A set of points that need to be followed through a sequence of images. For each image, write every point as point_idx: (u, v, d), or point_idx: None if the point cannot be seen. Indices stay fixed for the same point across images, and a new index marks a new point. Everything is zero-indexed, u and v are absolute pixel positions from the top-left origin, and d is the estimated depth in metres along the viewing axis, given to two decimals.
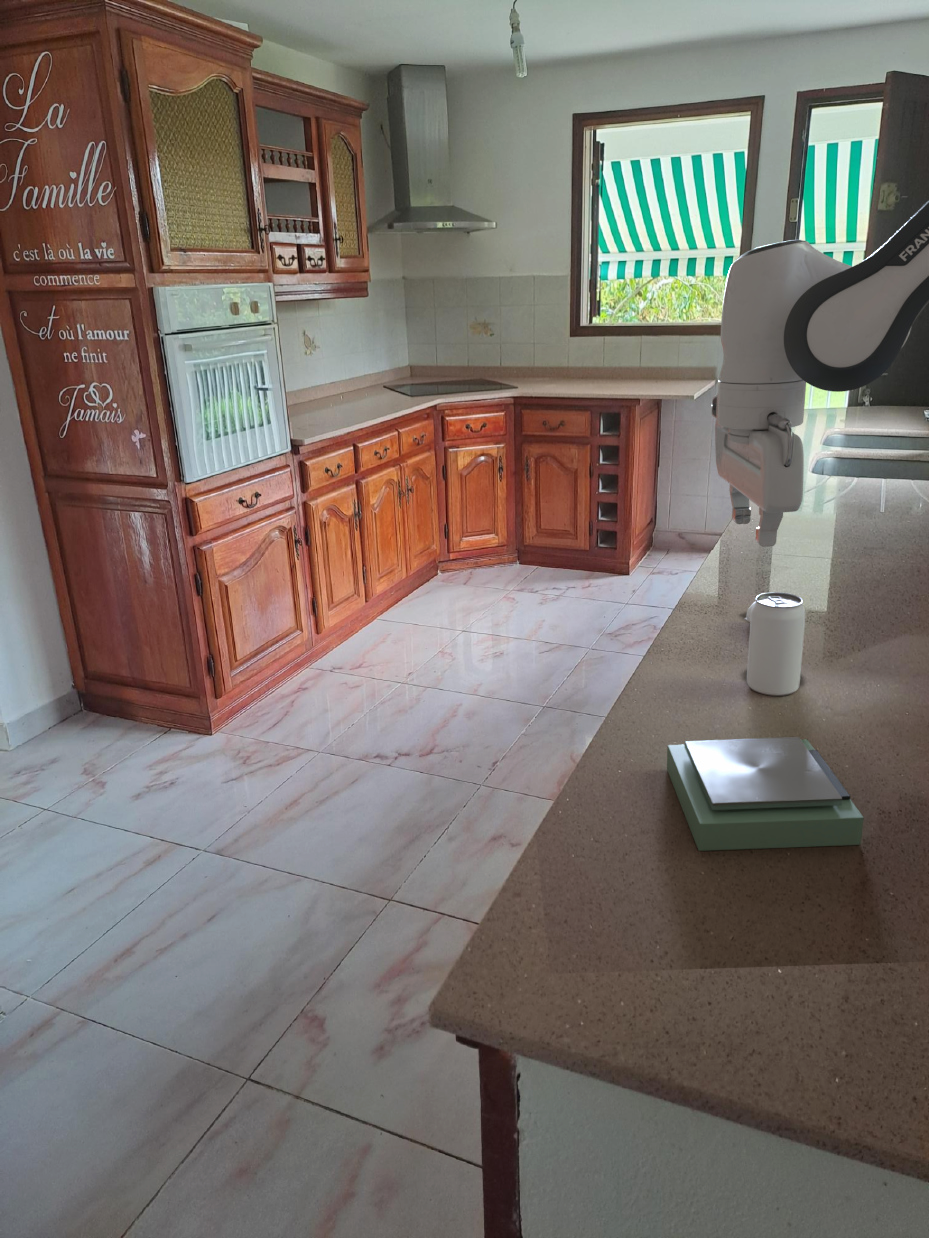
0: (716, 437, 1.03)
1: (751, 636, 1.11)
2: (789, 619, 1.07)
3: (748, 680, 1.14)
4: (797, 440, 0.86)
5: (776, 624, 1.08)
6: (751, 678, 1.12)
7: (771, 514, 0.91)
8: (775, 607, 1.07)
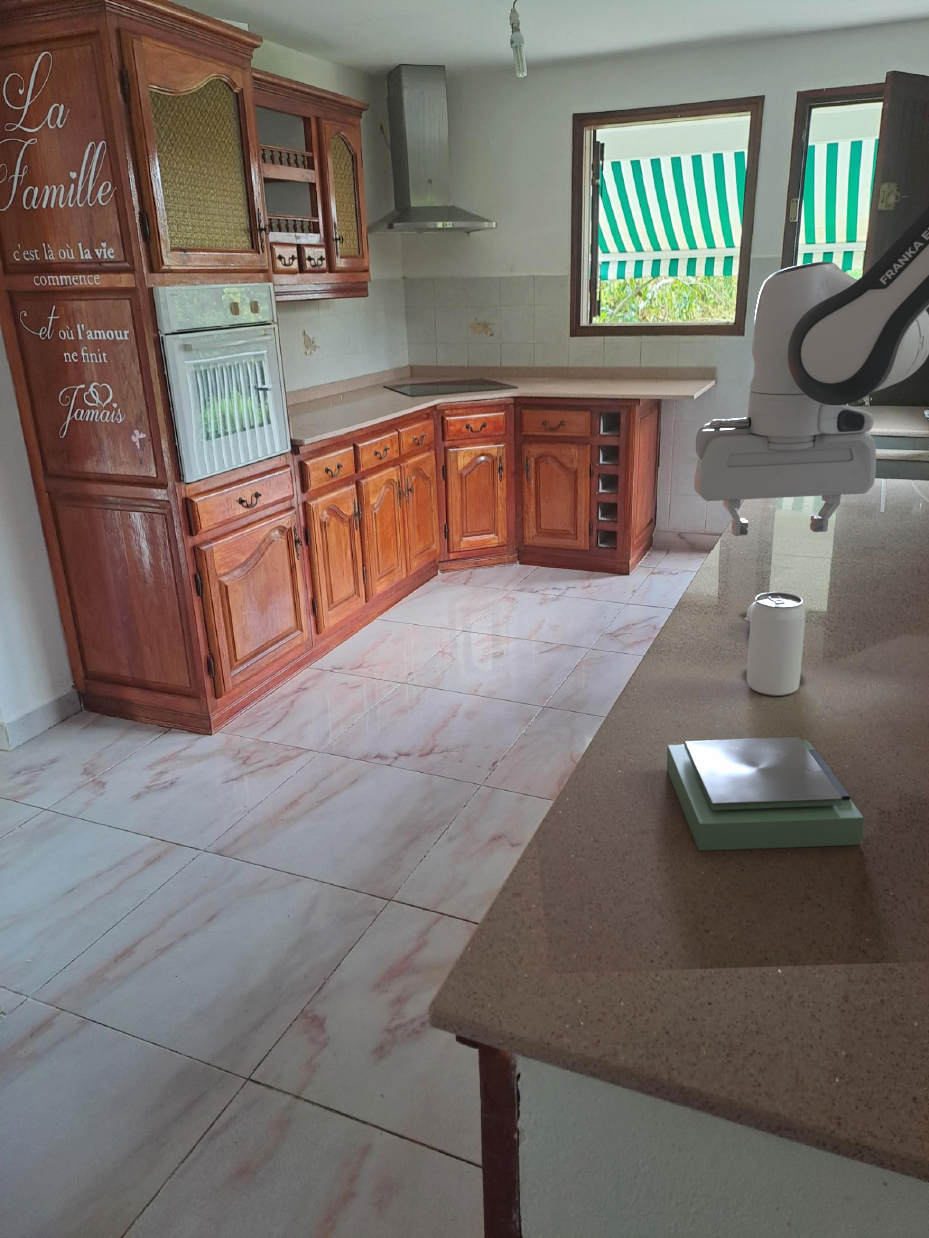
0: None
1: (751, 636, 1.11)
2: (789, 619, 1.07)
3: (748, 680, 1.14)
4: (713, 440, 1.01)
5: (776, 624, 1.08)
6: (751, 678, 1.12)
7: (725, 504, 1.05)
8: (775, 607, 1.07)
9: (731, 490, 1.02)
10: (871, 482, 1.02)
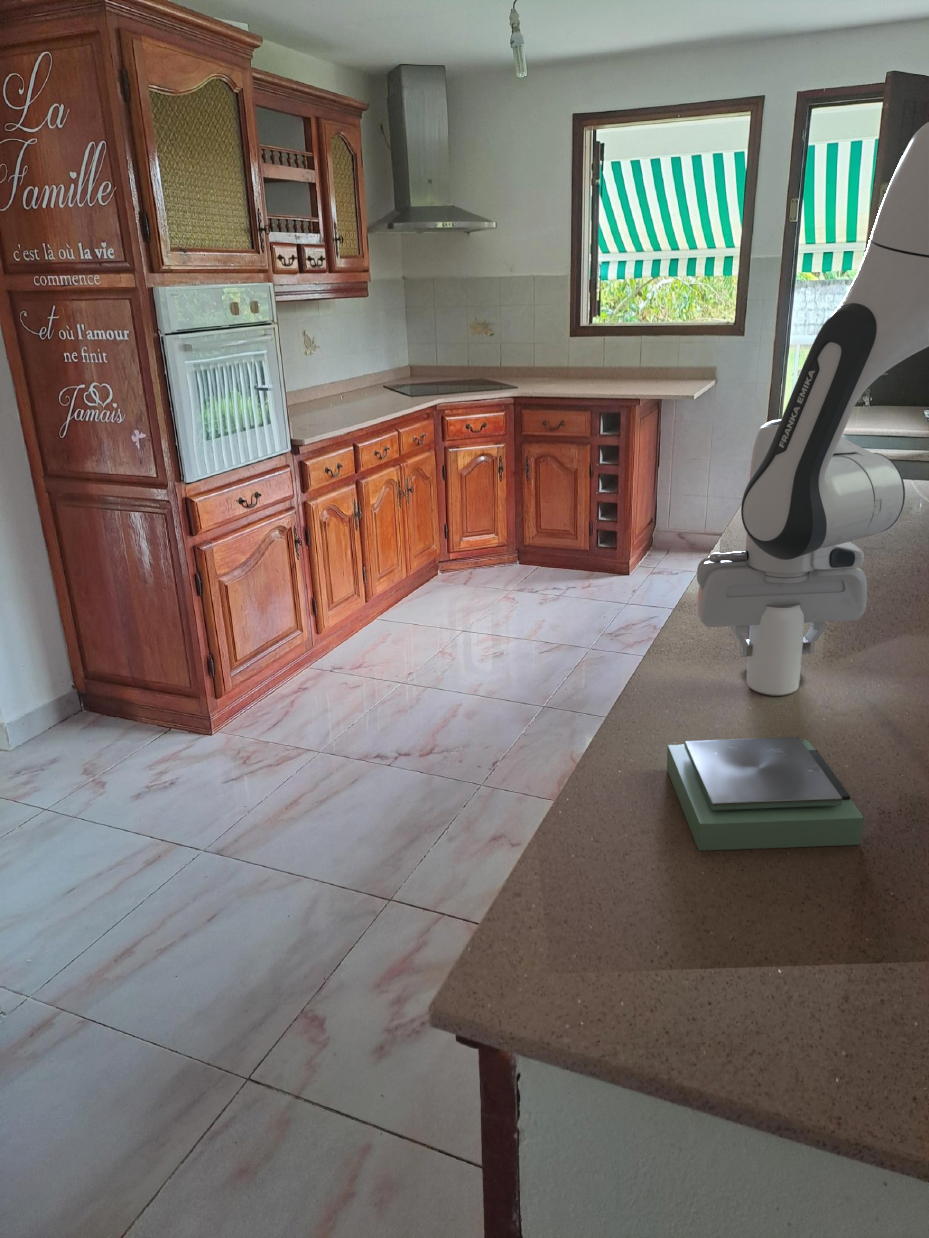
0: None
1: (751, 636, 1.11)
2: (788, 619, 1.07)
3: (748, 680, 1.14)
4: (713, 572, 1.07)
5: (775, 624, 1.08)
6: (751, 678, 1.12)
7: (733, 627, 1.11)
8: (774, 607, 1.08)
9: (731, 617, 1.09)
10: (862, 610, 1.08)
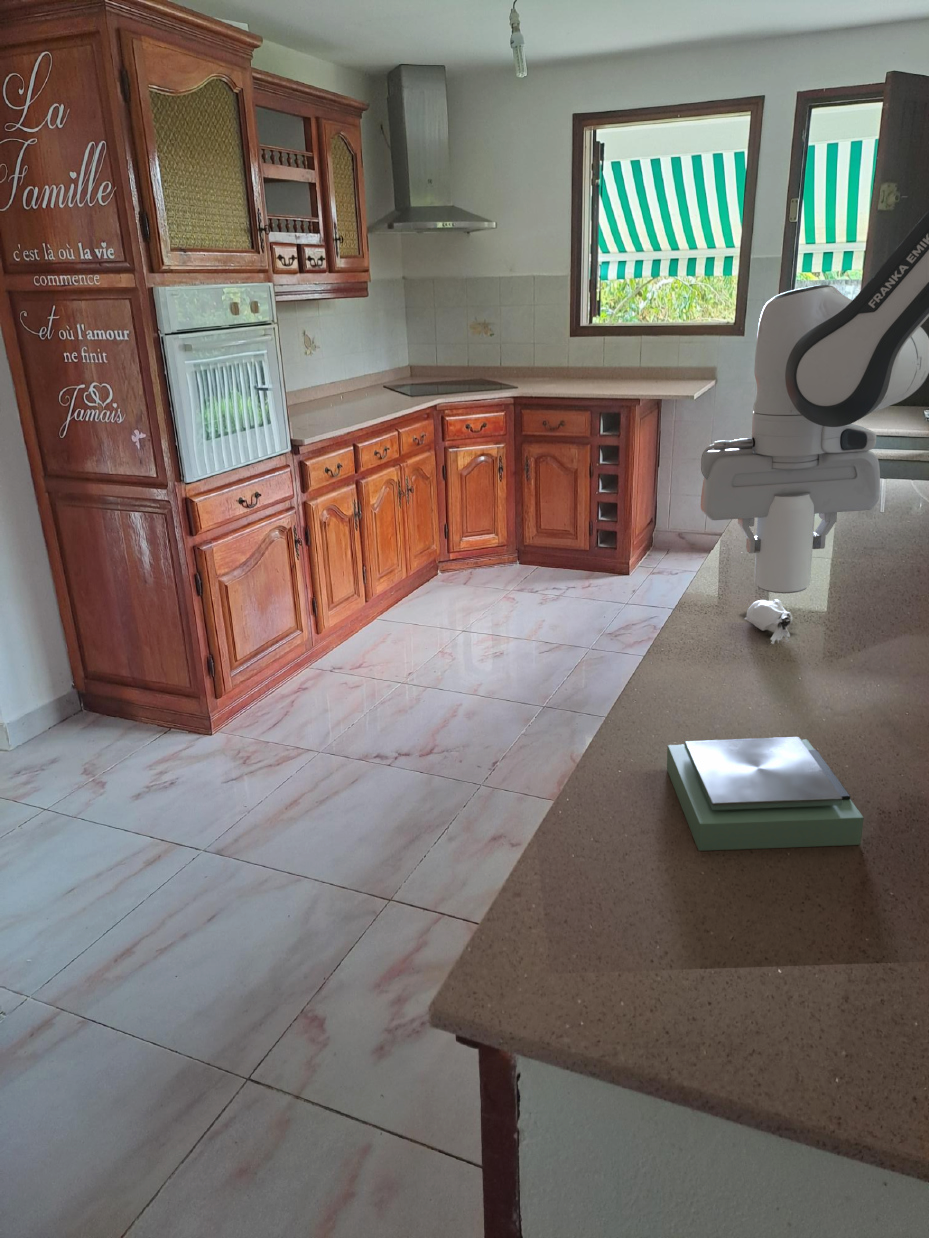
0: None
1: (758, 531, 1.06)
2: (798, 508, 1.02)
3: (756, 579, 1.08)
4: (718, 461, 1.02)
5: (784, 514, 1.03)
6: (759, 576, 1.07)
7: (739, 522, 1.06)
8: (783, 496, 1.02)
9: (737, 509, 1.04)
10: (876, 499, 1.03)
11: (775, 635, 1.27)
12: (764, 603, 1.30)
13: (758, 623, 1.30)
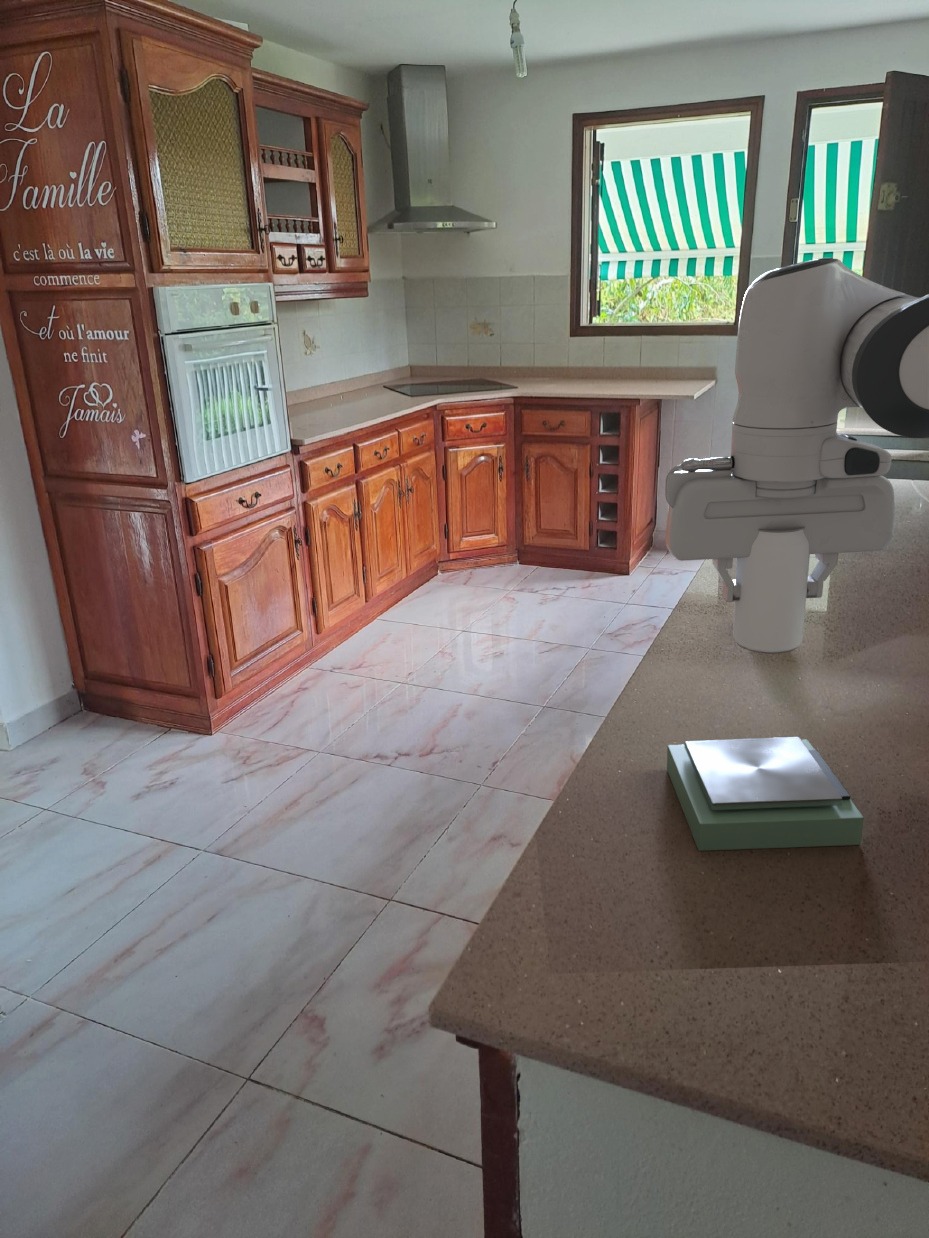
0: None
1: (738, 574, 0.83)
2: (788, 547, 0.79)
3: (734, 634, 0.86)
4: (687, 485, 0.79)
5: (771, 555, 0.80)
6: (739, 631, 0.84)
7: (714, 562, 0.83)
8: (769, 531, 0.80)
9: (710, 547, 0.81)
10: (888, 537, 0.80)
11: None
12: None
13: None
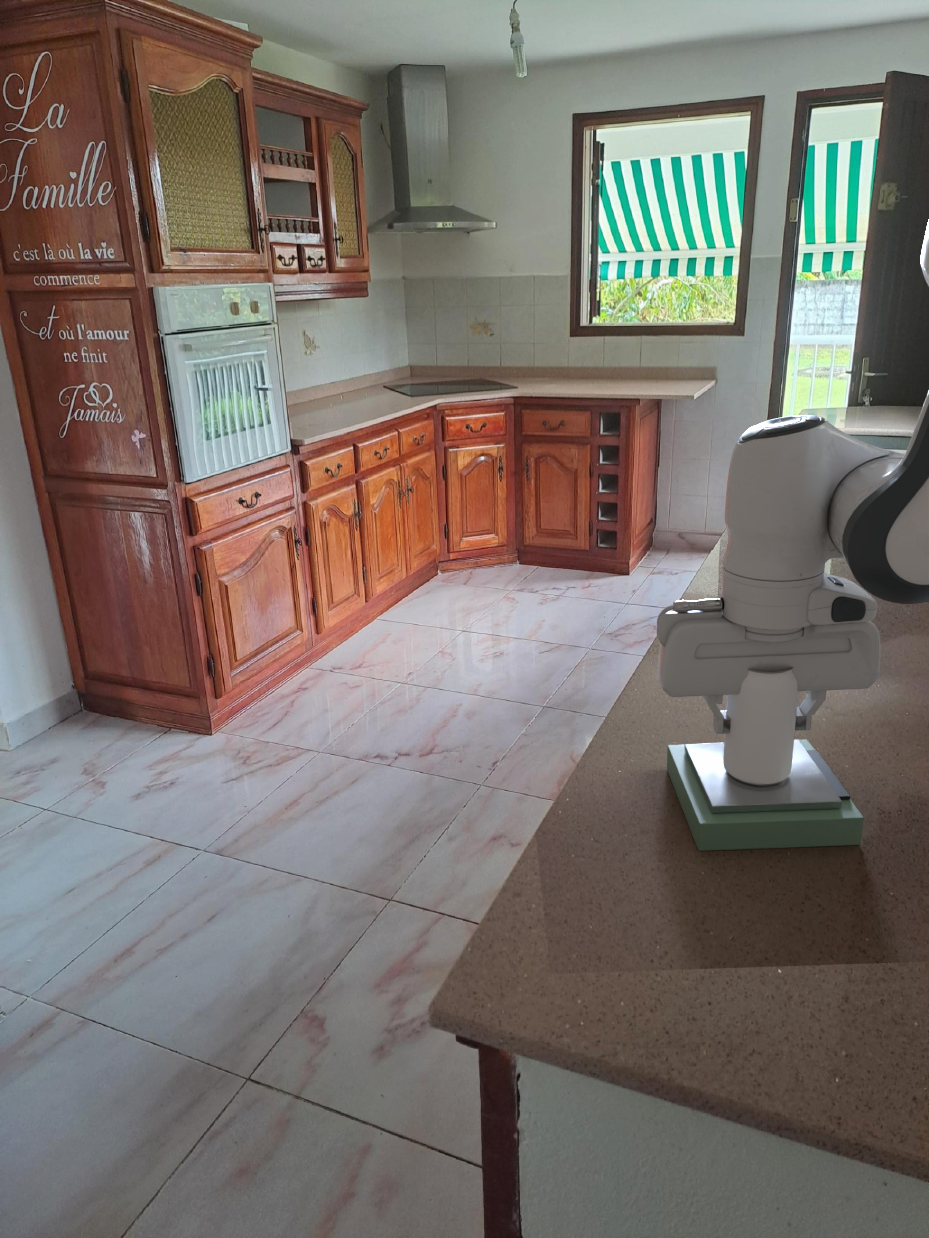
0: None
1: (728, 707, 0.85)
2: (777, 688, 0.81)
3: (725, 762, 0.87)
4: (678, 627, 0.81)
5: (760, 694, 0.81)
6: (729, 761, 0.86)
7: (705, 696, 0.85)
8: (759, 672, 0.81)
9: (701, 685, 0.82)
10: (875, 676, 0.82)
11: None
12: None
13: None
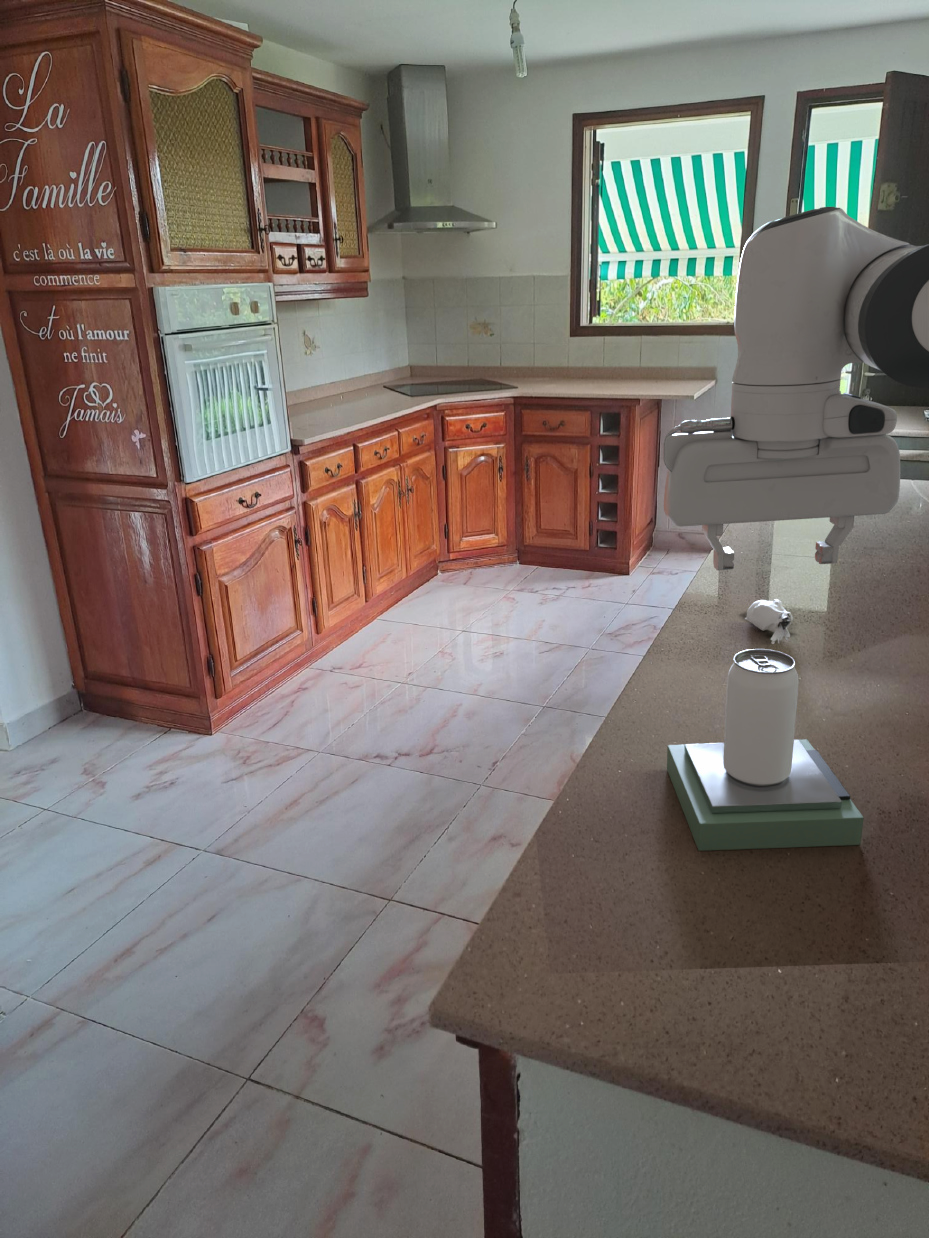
0: None
1: (728, 707, 0.85)
2: (777, 688, 0.81)
3: (725, 763, 0.87)
4: (685, 447, 0.77)
5: (760, 695, 0.81)
6: (729, 762, 0.86)
7: (704, 529, 0.81)
8: (758, 672, 0.81)
9: (711, 512, 0.78)
10: (894, 499, 0.77)
11: (775, 635, 1.27)
12: (764, 603, 1.30)
13: (758, 623, 1.30)
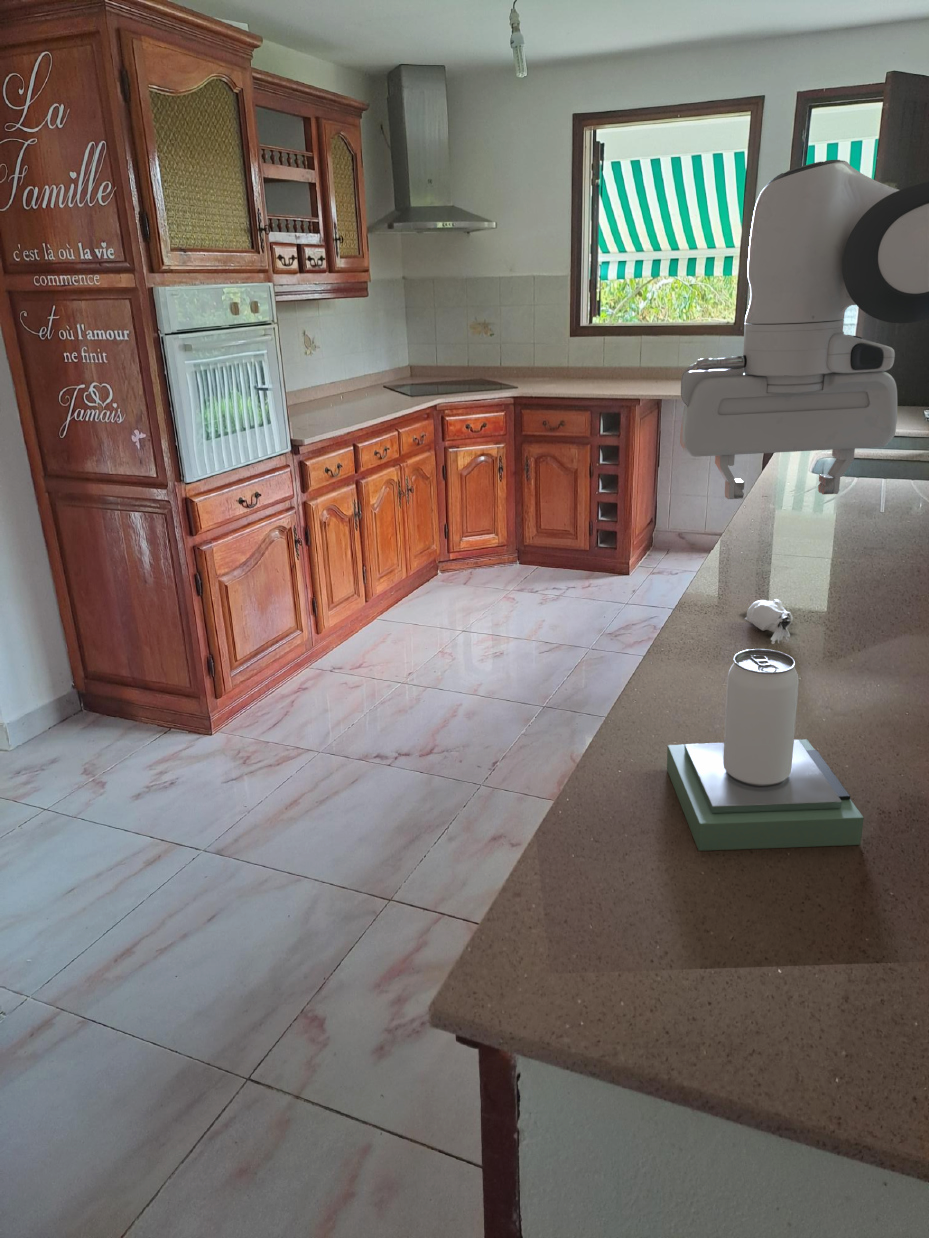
0: None
1: (728, 707, 0.85)
2: (777, 688, 0.81)
3: (725, 763, 0.87)
4: (701, 382, 0.84)
5: (760, 695, 0.81)
6: (729, 762, 0.86)
7: (717, 461, 0.88)
8: (758, 672, 0.81)
9: (723, 443, 0.85)
10: (891, 433, 0.85)
11: (775, 635, 1.27)
12: (764, 603, 1.31)
13: (758, 623, 1.30)
